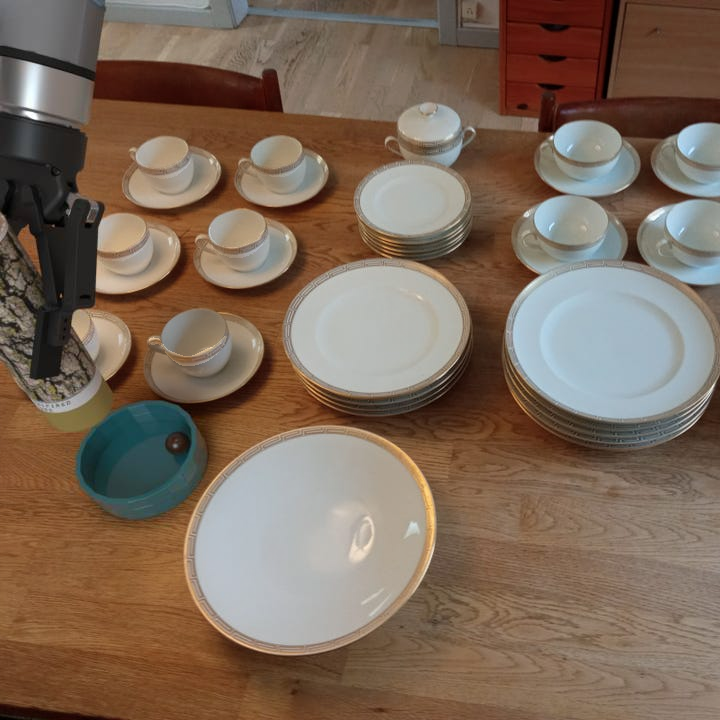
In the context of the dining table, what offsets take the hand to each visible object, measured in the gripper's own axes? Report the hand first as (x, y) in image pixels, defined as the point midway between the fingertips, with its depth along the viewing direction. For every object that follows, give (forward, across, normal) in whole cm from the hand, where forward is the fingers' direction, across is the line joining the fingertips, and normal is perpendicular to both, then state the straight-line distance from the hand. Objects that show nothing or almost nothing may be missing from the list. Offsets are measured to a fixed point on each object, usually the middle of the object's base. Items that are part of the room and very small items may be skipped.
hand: (12, 366), depth 69 cm
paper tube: (+6, 0, -10) cm, 12 cm away
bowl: (+16, -1, -21) cm, 27 cm away
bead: (+12, -4, -22) cm, 25 cm away
